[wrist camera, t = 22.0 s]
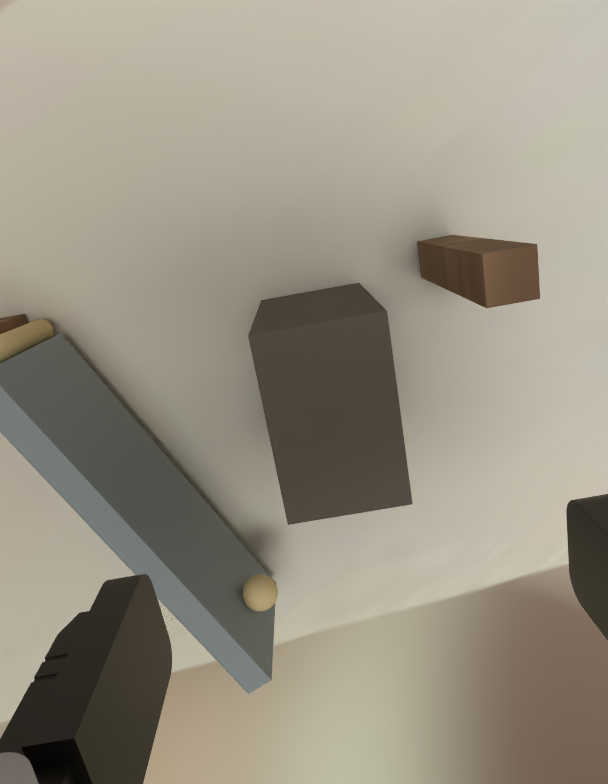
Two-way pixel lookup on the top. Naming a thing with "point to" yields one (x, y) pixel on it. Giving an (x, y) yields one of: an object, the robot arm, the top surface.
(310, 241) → the top surface
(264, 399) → the block
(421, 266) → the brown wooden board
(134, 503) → the door
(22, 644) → the top surface
